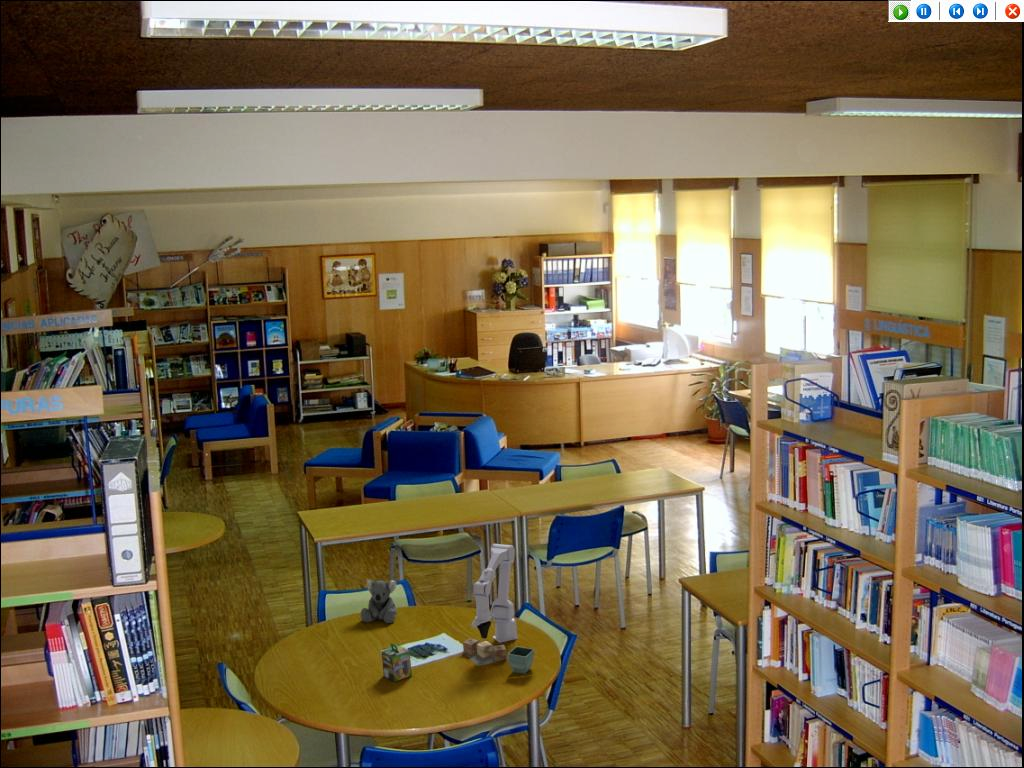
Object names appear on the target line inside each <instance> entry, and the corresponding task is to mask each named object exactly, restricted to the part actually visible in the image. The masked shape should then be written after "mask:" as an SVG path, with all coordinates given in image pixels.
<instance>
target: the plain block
mask: <svg viewBox="0 0 1024 768" xmlns="http://www.w3.org/2000/svg"><path fill="white" fill-rule="evenodd" d="M492 645H493V644H492V643H490V642H489V641H487V640H485V641H482V642H479V643H478V644H477V655H479V656H481V657H483V658H485V657H488V656H492V655H493V646H492Z"/></svg>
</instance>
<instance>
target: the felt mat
mask: <svg viewBox="0 0 1024 768" xmlns="http://www.w3.org/2000/svg"><path fill="white" fill-rule="evenodd" d="M492 646H495V645H494V644H492ZM462 653H463V654H464V655H465V656H466V657H467V658H468V659H469V660H471V661H472V662H473V663H474V664H475V665H476V666H478V667H481V666H485V665H490V664H493V663H497V662H498V663H499V662H500V661H495V660H494V657H493V655H492V656H488V657H485V658H483V657H481V656H479V655H477V653H475V654H473V655H470V654H467V653H464V651H462ZM507 660H509V658H508V655H506V660H505V661H507Z"/></svg>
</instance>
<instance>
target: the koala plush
mask: <svg viewBox="0 0 1024 768" xmlns="http://www.w3.org/2000/svg"><path fill="white" fill-rule="evenodd" d="M366 587H367V590H368V591H369V593H370V598H369V601H368V605H367V607H362V608H361V610H360V619H361V621H362V622H364V623H372V622H373V621H375V620H377V619H379V620H383V622H384V623H386V624H392V623H393V622H394V621H395V620H396V617H397V608H396V604H395V602H394V599H393V598H392V597H391V596H390V595H391V594H392V593H394V592H395V590H396V588H397V582H396V581H395V580H389V581H384V580H380V579H379V580H376V581H375V580H372V579H369V578H368V579H367V580H366Z"/></svg>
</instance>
